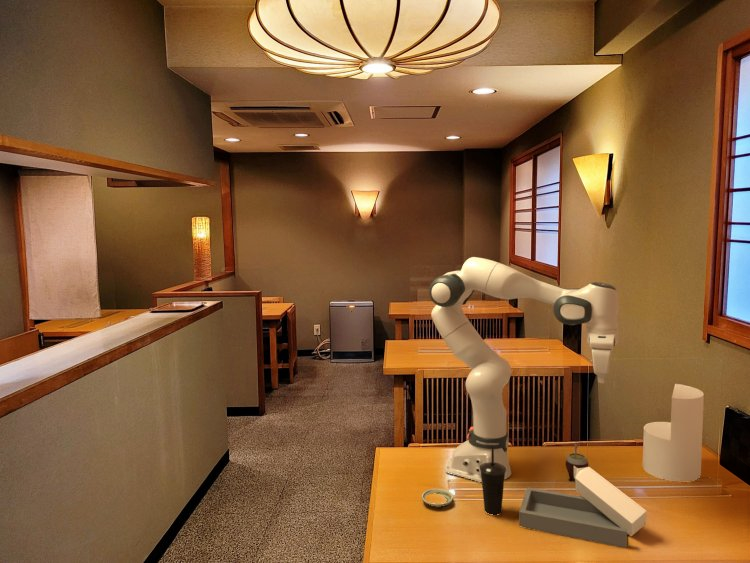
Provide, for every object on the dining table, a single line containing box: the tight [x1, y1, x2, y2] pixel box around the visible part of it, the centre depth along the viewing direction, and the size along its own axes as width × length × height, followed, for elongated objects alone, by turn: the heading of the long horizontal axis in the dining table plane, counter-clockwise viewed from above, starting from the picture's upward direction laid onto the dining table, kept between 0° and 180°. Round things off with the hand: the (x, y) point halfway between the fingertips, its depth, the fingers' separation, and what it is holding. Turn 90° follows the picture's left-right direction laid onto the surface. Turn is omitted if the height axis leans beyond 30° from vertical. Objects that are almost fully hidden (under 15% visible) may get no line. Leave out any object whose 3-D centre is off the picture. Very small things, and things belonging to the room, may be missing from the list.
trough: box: [518, 486, 628, 549], centre depth 152 cm, size 28×15×4 cm, turn 66°
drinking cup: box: [480, 447, 506, 516], centre depth 158 cm, size 8×8×20 cm
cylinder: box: [642, 383, 705, 482], centre depth 180 cm, size 17×17×28 cm
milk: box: [574, 466, 648, 537], centre depth 152 cm, size 6×6×22 cm
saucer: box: [421, 488, 454, 508], centre depth 165 cm, size 10×10×2 cm
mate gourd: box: [565, 442, 589, 482], centre depth 176 cm, size 8×8×15 cm
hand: (601, 381), depth 161 cm, fingers closed
